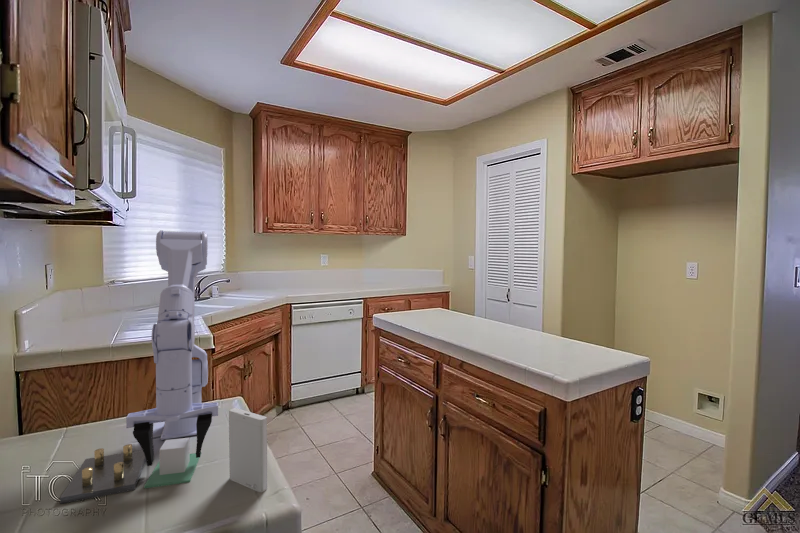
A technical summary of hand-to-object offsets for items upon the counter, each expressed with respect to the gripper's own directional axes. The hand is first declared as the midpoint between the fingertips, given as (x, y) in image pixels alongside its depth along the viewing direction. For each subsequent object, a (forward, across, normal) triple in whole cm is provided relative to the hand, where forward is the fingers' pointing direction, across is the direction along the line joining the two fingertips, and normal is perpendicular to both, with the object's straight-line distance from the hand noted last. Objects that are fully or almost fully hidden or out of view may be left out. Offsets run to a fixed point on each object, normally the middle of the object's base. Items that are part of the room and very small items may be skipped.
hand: (175, 459), depth 74 cm
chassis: (+2, -10, +2) cm, 11 cm away
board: (+2, 0, 0) cm, 2 cm away
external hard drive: (+2, +12, -10) cm, 16 cm away
